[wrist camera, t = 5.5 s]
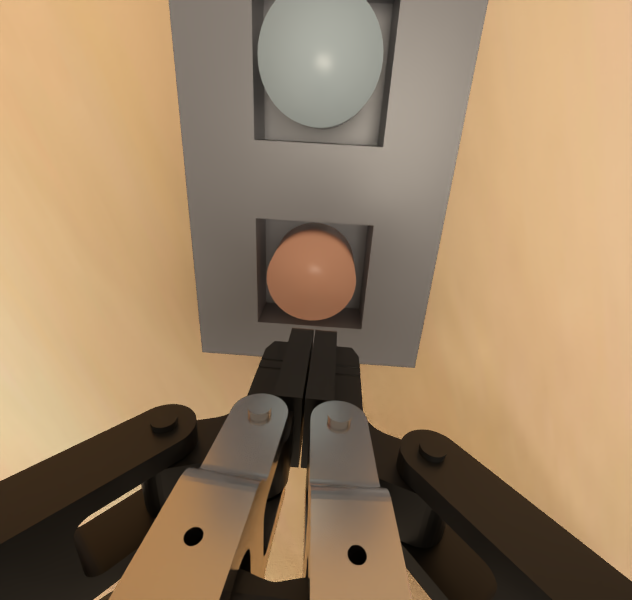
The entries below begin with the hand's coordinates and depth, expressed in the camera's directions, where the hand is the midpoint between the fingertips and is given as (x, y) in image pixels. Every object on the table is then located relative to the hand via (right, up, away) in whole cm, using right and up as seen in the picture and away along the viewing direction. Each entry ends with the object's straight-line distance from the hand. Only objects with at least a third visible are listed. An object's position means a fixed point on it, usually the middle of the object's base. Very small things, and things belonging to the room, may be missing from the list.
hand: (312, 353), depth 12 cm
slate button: (0, +12, +3) cm, 12 cm away
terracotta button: (0, +4, +8) cm, 9 cm away
